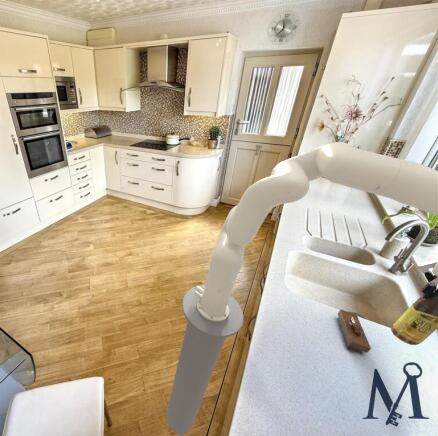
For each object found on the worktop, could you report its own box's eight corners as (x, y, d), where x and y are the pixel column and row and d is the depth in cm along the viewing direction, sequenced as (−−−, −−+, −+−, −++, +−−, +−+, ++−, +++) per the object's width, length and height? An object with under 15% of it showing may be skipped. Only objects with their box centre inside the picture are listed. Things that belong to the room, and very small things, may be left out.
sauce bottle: (396, 342, 65) (444, 291, 56) (385, 324, 71) (426, 274, 61) (426, 350, 64) (480, 299, 54) (411, 331, 69) (458, 281, 59)
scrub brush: (334, 317, 88) (342, 306, 85) (350, 322, 87) (359, 311, 83) (345, 350, 77) (355, 339, 74) (363, 356, 75) (374, 345, 72)
